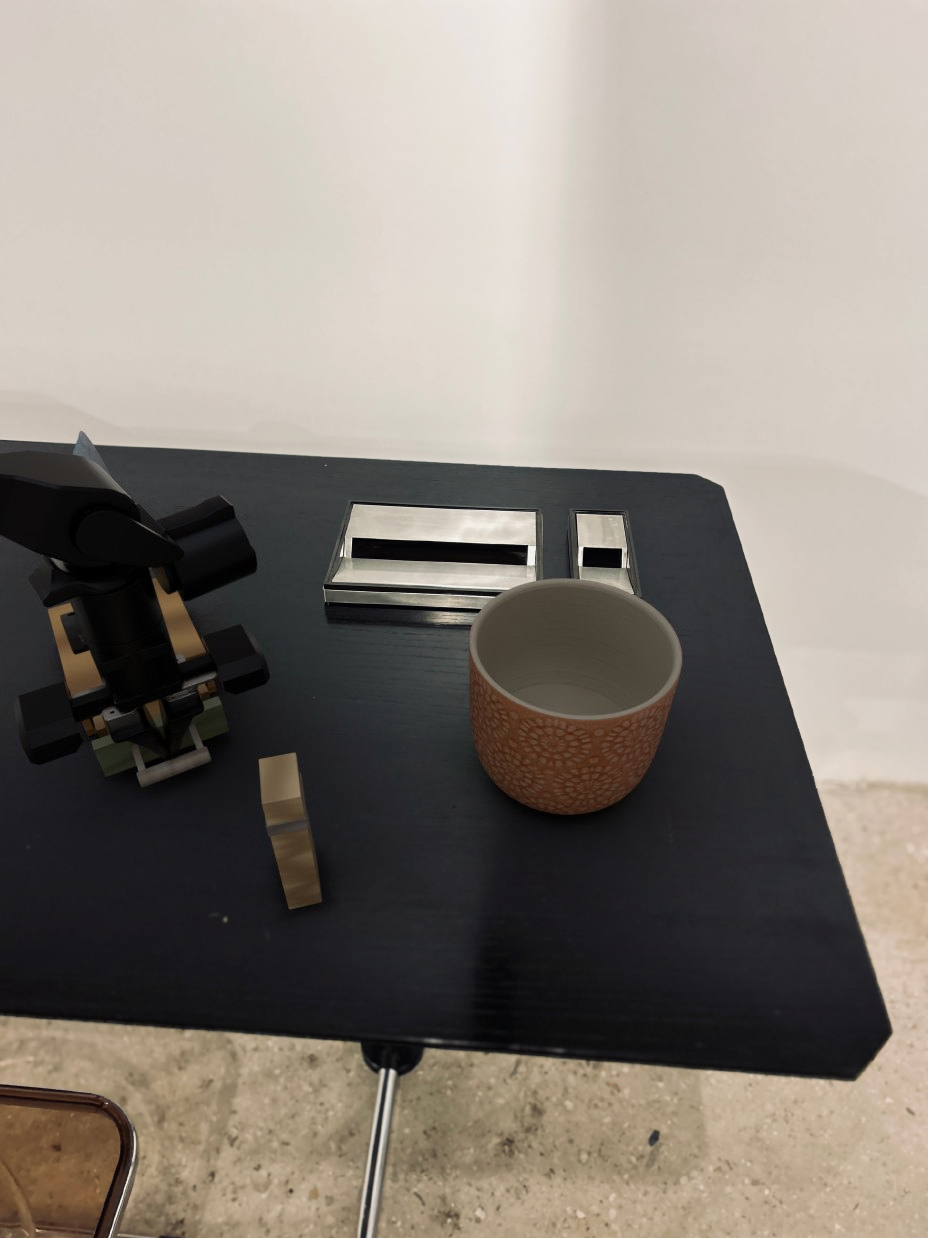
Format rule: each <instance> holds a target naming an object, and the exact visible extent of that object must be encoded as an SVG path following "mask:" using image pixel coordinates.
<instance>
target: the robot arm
mask: <svg viewBox="0 0 928 1238" xmlns="http://www.w3.org/2000/svg"><path fill="white" fill-rule="evenodd" d="M72 454H73V453H71V454H70V453H61V452H60V453H59V452H51V451H39V450H20V451H18V450H17V451H10V452H1V453H0V537H3V538H5V539H7V540H9V541H11V542H13V543H15V544H17V545H18V546H21V547H23V548H24V549H27V550H28V551H31V552H33V553H35V554H39V555H42V558H41V561H40V564H39V565H38V566H37V567H36V568H35V569H33V571H32V572H31V573H30V575H29V576H28V577H27V584H28V585H29V586H30V588H31V590H32V591H33V592H34V595H36V597H37V598H38V600H39V601H40V603H41V604H42V605H43V607H45V608H53V607H56V606H58V605H59V604H62V603H65V602H67V601H69V603H71V606H72V608H73V611H72V612H69V613H65V614H62V615H60V619H61V622H62V625H63V628H64V630H65V633H66V636H67V639H68V641H69V644H70V646H71V649H72V651H73V653H74V654H75V655H77V654H80V653H83V652H86V651H90V653H91V655H92V658H93V660H94V663H95V665H96V668H97V670H98V673H99V675H100V678H101V680H102V683H103V685H101V686H98V687H95V688H92V689H89V690H86V691H83V692H80V693H77V694H74V695H72V696H71V692H70V690H69V687H68V685H67V682H66V680H62V681H59V682H55V683H52V684H50V685H47V686H43V687H41V688H38V689H35V690H32V691H29V692H25V693H22V694H19V695H17V697H16V699H15V701H14V703H13V710H14V716H15V721H16V727H17V733H18V738H19V741H20V744H21V747H22V749H23V751H24V753H25V755H26V757H27V759H28V761H29V762H30V764H33V765H37V766H42V765H44V764H47V763H50V762H53V761H56V760H58V759H62V758H64V757H68V756H71V755H73V754H76V753H77V752H78V750H79V749H80V747H81V746H82V745H83V743H84V738H83V735H82V733H81V731H80V729H79V725H78V723H82V721H84V720H87V719H90V718H92V717H95V716H98V715H102V718H103V720H105V721H106V722H107V726H108V729H109V732H110V736H111V738H112V741H113V742H115V743H122V742H125V741H129V742H132V743H134V744H137V745H139V746H142V747H144V748H147V749H148V750H150V751H152V752H153V753H155V754H156V755H158V756H160V757H159V758H161V759H163V760H164V761H165V762H166V761H168V760H171V759H173V758H176V757H179V752H180V750H181V749H180V746H181V743H182V740H183V737H184V735H185V733H186V731H187V729H188V727H189V725H190V723H191V721H192V719H193V718H194V717H195V716H196V715H199V714H201V713H202V712H203V711H204V704H203V702H202V700H201V697H200V695H199V693H198V690H197V688H198V685H201V684H204V683H207V682H210V681H213V680H214V681H215V680H218V679H219V678H220V681H221V685H222V688H223V690H224V692H225V693H228V694H232V695H235V696H237V695H240V694H242V693H245V692H248V691H250V690H251V691H252V690H254V689H257V688H260V687H262V686H265V685H267V684H268V682H269V680H270V679H271V675H270V670H269V665H268V662H267V659H266V656H265V653H264V652H263V651H262V649H261V646H260V645H259V643H258V641H257V640H256V637H255V636H254V634H253V632H252V631H251V628H250V627H248V626H246V625H244V624H242V623H239V624H236V625H232V626H229V627H227V628H224V629H220V630H217V631H214V632H211V633H208V634H205V635H202V636H201V642H202V644H203V646H204V649H205V651H206V654H205V655H202V656H199V657H196V658H193V659H190V660H187V661H186V660H185V658H184V655H183V654H178V655H175V652H174V648H173V645H172V642H171V639H170V635H169V632H168V629H167V626H166V623H165V619H164V616H163V613H162V610H161V607H160V603H159V600H158V597H157V594H156V590H155V587H154V584H153V581H152V579H153V578H152V575H151V572H150V571H152V573H153V575H154V578H156V579H157V581H158V583H159V584H160V586H161V588H162V589H163V590H164V591H165V592H166V593H167V594H168V595H170V594H172V593H175V592H178V594H179V596H180V598H181V600H182V602H183V603H185V602H190V601H193V600H195V599H197V598H200V597H202V596H204V595H207V594H209V593H211V592H214V591H216V590H219V589H221V588H223V587H225V586H228V585H230V584H233V583H235V582H237V581H240V580H243V579H245V578H248V577H250V576H252V575H254V574H256V573H257V571H258V558H257V557H258V556H257V554H256V550H255V548H254V547H253V546H252V545H251V543H250V540H249V537H248V536H247V534H246V532H245V529H244V528H243V526H242V524H241V523H240V521H239V520H238V518H237V517H236V512H235V507H234V505H233V504H232V503H230V502H229V501H228V500H227V499H226V498H225V497H224V496H223V495H221V494H218V495H215V496H212V497H209V498H207V499H204V500H203V501H202V502H200V503H198V504H197V505H193V506H191V507H188V508H186V509H183V510H180V511H178V512H175V513H172V514H169V515H166V516H164V517H161V518H158V519H156V518H155V517H153V516H152V514H150V513H149V511H147V509H145V507H144V506H143V505H142V504H141V503H137V502H135V501H134V499H133V498H132V497H131V496H130V495H129V494H128V493H127V492H126V491H125V490H124V489H123V488H122V487H121V486H120V485H119V484H118V483H117V482H116V480H115V479H113V477H112V476H111V475H110V476H111V477H110V476H109V475H108V474H107V473H106V472H105V471H104V470H103V468H102V467H101V466H99V465H98V464H97V463H95V462H94V461H93V460H90V459H88V458H86V457H83V456H79V455H72ZM150 568H151V570H150ZM155 700H158V702H159V708H160V714H161V719H162V725H163V731H164V737H165V739H164V737H163V736H162V734H161V732H160V730H159V729H158V727H157V725H156V723H155V722H154V720H153V718H152V716H151V715H150V713H149V711H148V709H147V708H146V706H145V704H147V703H150V702H152V701H155Z"/></svg>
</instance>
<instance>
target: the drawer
mask: <svg viewBox="0 0 928 1238" xmlns="http://www.w3.org/2000/svg"><path fill="white" fill-rule="evenodd" d="M197 690H198V693H199V695H200V697H201V700H202V702H203V704H204V711H203V712H202V713H201V714H199V715H196V716H195V717H194V718H193V719H192V721H191V723H190V725H189V727H188V729H187V731H186V733H185V735H184V737H183V740H182V743H181V746H180V750H183V749H185V748H187V747H190V746H192V745H193V746H195V749H194V750H192V751H189V752H187V753H184V754H181V755H178V756H177V757H176V758H173V759H171V760H168V761H166V760H165V761H163V762H161V763H157V764H155V765H153V766H150V767H146V765H145V763H147V762H150V761H153V760H156V759H158V758H161V757H160V756H158V755H156V754H155V753H153V752H152V751H150V750H148V749H147V748H144V747H142V746H139V745H137V744H134V743H132V742H129V741H125V742H122V743H115V742H113V741H112V738H111V736H110V732H109V729H108V726H107V722H106V721H105V720H103V718H102V715H98V716H95V717H93V720H94V724H95V727H96V731H97V733H96V734H97V735H98V737H99V738H97V739H93V740H91V746H92V750H93V752H94V754H95V756H96V759H97V761H98V763H99V765H100V767H101V770H102V772H103V774H104V776H105V778H107V777H110V776H113V775H116V774H118V773H122V772H123V771H126V770H129V769H132V768H134V767H136V768H137V772H136V777H137V780H138V782H139V785H140V788H142V789H143V788H147V787H149V786H151V785H153V784H156V783H159V782H161V781H164V780H167V779H170V778H172V777H175V776H176V775H179V774H182V773H185V772H187V771H190V770H192V769H194V768H198V767H200V766H202V765H205V764H207V763H210V762H212V758H211V754H210V752H209V750H208V747H207V746H206V745H205V746H204V744H203V741H206V740H209V739H211V738H214V737H216V736H219V735H222V734H224V733H228V732H229V731H230V729H229V725H228V721H227V718H226V713H225V711H224V706H223V704H222V701H221V699H220V697H219V696H214V697H212V698H211V695H210V693H209V692H208V689H207V687H206V685H205V683H204V684H201V685H198V688H197ZM145 706H146V708H147V709H148V711H149V713H150V715H151V716H152V718H153V720H154V722H155V723H156V725H157V727H158V729H159V730H160V732H161V734H162V736H163V737H164V731H163V725H162V719H161V714H160V708H159V702H158V700H155V701H152V702H150V703H147V704H145ZM164 739H165V737H164Z"/></svg>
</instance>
